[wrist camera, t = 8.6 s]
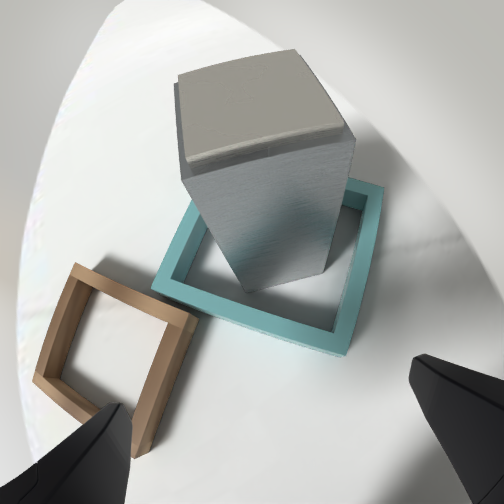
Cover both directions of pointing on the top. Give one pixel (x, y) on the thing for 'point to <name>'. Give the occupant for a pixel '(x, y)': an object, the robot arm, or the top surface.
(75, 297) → the walnut bin
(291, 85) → the tin
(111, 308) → the top surface
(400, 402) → the top surface
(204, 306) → the teal bin
